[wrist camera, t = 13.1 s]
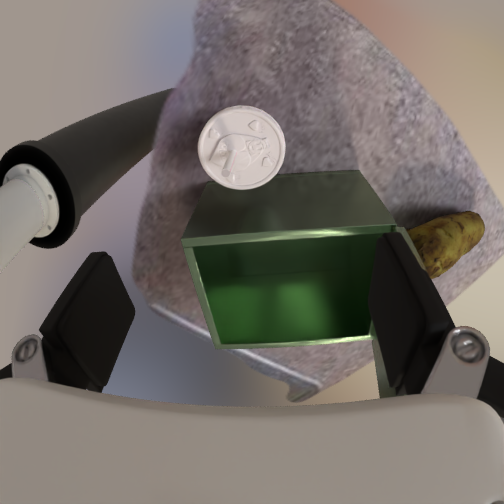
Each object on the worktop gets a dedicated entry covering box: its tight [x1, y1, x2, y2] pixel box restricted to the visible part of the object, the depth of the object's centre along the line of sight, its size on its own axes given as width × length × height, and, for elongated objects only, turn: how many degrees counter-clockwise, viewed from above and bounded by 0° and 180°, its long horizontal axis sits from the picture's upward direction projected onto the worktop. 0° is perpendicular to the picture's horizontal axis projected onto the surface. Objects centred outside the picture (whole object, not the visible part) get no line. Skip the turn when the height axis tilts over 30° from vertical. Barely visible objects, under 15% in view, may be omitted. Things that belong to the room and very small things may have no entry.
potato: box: [406, 211, 485, 279], centre depth 31 cm, size 8×13×8 cm, turn 86°
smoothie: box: [198, 105, 286, 190], centre depth 23 cm, size 6×6×14 cm
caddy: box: [181, 170, 397, 349], centre depth 31 cm, size 17×14×12 cm
